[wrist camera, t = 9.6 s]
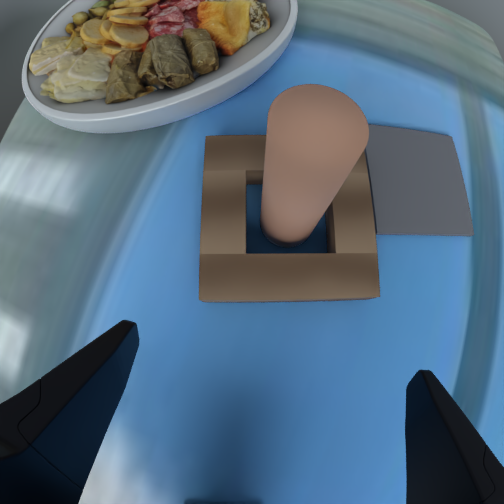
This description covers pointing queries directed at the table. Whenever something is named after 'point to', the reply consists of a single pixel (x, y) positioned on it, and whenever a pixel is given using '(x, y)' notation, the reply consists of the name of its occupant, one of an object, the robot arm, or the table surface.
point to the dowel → (307, 158)
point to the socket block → (280, 265)
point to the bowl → (150, 59)
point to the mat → (416, 183)
